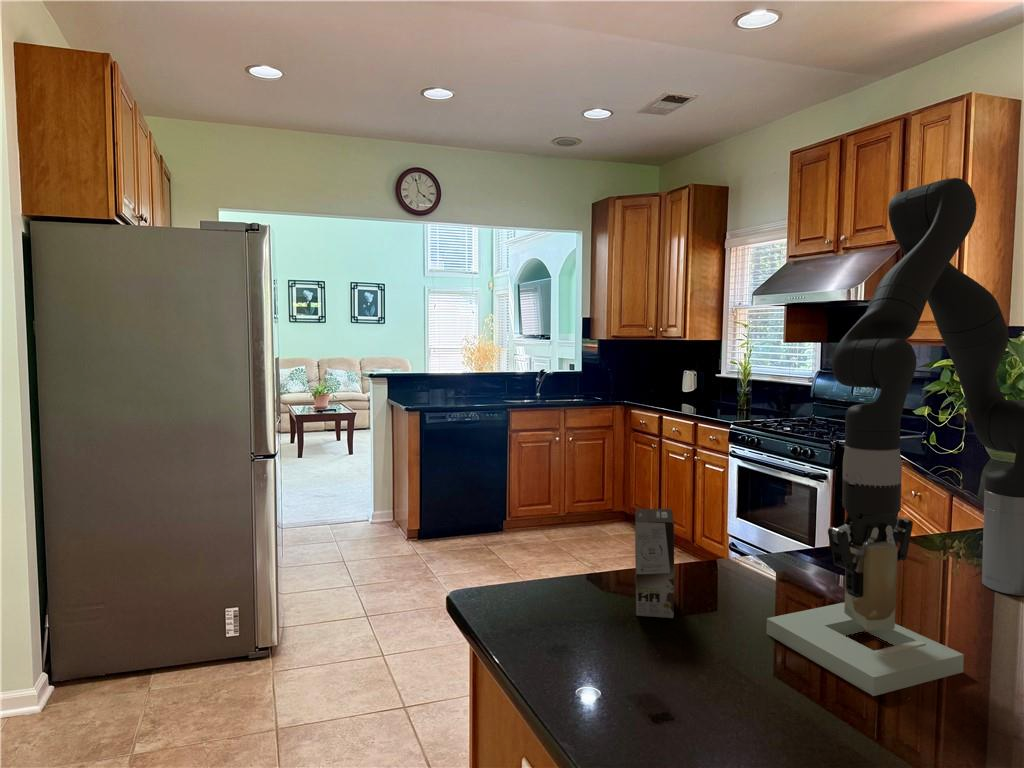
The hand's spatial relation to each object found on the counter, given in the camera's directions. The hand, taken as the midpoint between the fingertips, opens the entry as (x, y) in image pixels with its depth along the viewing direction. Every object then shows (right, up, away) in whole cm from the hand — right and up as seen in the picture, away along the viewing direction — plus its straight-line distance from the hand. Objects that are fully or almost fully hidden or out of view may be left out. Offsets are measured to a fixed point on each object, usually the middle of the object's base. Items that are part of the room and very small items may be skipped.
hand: (869, 592), depth 102 cm
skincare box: (0, -5, 0) cm, 5 cm away
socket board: (-2, -9, 0) cm, 9 cm away
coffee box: (-28, -8, +18) cm, 34 cm away
